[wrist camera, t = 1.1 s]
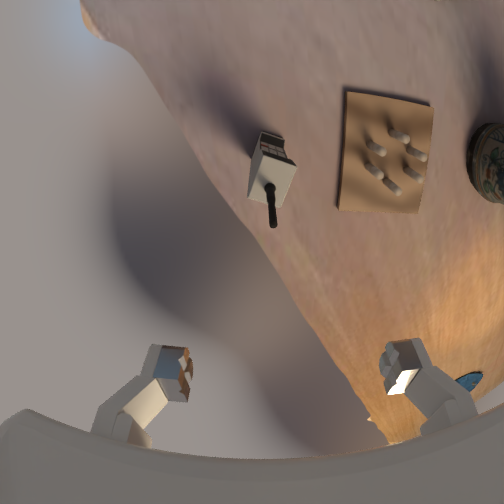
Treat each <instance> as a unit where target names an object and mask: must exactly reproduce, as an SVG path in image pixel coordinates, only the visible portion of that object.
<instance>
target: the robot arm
mask: <svg viewBox="0 0 504 504" xmlns="http://www.w3.org/2000/svg"><path fill="white" fill-rule="evenodd" d="M385 349H386V351H385V352H384V353H382V355H381V357H380V361H379V368H380V372H381V375H382V376H384V377H385V380H384V386H385V390H386V393H387V395H391V394H397V393H403V392H404V394H405V395H406V396H407V397H408V398H409V399H410V401H411V402H412V403H413V404H414V405H415V406H416V407H417V408H418V409H419V410H420V411H421V412H422V413H423V414H424V415H425V416H426V418H427V419H428V420H427V421H426V422H425V423H424V424H422V425H421V427H420V431H421V435H422V436H419V437H416V438H413V439H409V440H405V441H402V442H398V443H394V444H389V445H385V446H380V447H376V448H371V449H366V450H360V451H355V452H348V453H341V454H334V455H326V456H317V457H304V458H287V459H233V458H218V457H207V456H197V455H189V454H181V453H175V452H167V451H162V450H157V449H151V444H152V439H151V438H150V436H149V435H148V434H147V433H146V432H145V431H144V430H143V429H144V428H145V427H146V426H147V425H148V424H149V423H150V421H151V420H152V419H153V418H154V417H155V416H156V415H157V414H158V413H159V412H160V410H161V409H162V408H163V407H164V406H165V405H166V404H167V403H168V401H176V402H188V397H189V393H190V387H189V385H188V383H189V382H190V381H191V380H192V376H193V362H192V359H191V358H189V350H188V348H186V347H175V346H166V345H156V344H152V345H151V346H150V347H149V350H148V353H147V356H146V359H145V362H144V365H143V368H142V371H141V374H140V376H136V377H134V378H133V379H132V380H131V381H130V382H128V383H127V384H126V385H125V386H123V387H122V388H121V389H120V390H119V391H117V392H116V393H115V394H114V395H113V396H111V397H110V398H109V399H108V400H107V401H105V402H104V403H103V404H102V405H100V406H99V408H98V411H97V414H96V417H95V420H94V423H93V426H92V429H91V432H90V433H89V432H86V431H83V430H80V429H77V428H75V427H72V426H69V425H66V424H64V423H61V422H58V421H56V420H54V419H51V418H49V417H46V416H44V415H42V414H40V413H37V412H35V411H33V410H30V409H24V410H22V411H20V412H18V413H16V414H15V415H13V416H11V417H10V418H8V419H7V420H6V421H4V422H3V423H2V424H1V426H0V504H504V403H502V404H500V405H498V406H496V407H494V408H492V409H490V410H488V411H486V412H484V413H481V414H479V415H478V412H477V409H476V407H475V404H474V402H473V399H472V397H471V394H470V392H469V391H468V390H466V389H465V388H464V387H462V386H461V385H460V384H459V383H457V382H456V381H455V380H453V379H452V378H451V377H450V376H448V375H447V374H446V373H444V372H443V371H442V370H441V369H439V368H438V367H437V366H433V365H432V362H431V360H430V358H429V356H428V353H427V351H426V349H425V347H424V345H423V343H422V340H421V339H420V338H413V339H405V340H398V341H391V342H388V343H387V344H386V346H385Z"/></svg>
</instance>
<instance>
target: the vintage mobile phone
mask: <svg viewBox="0 0 504 504" xmlns="http://www.w3.org/2000/svg"><path fill="white" fill-rule="evenodd" d="M284 143H285V140H284V139H283V138H280V137H277V136H274V135H271V134H268V133H265V132H262V131H261V134H260V136H259V139H258V142H257V145H256V148H255V151H254V153H253V156H252V159H251V167H250V175H249V184H248V193H247V198H249V199H252V200H256V201H259V202H262V203H265V204H268V209H269V224H270V227H271V228H276V227H277V217H276V208H275V207H278V208H281V206H282V203H283V201H284V199H285V196H286V194H287V191H288V189H289V186H290V184H291V181H292V179H293V177H294V174H295V172H296V169H297V166H296V164H295V163H294V162H293V161H292V160H291V159H288V158H287V155H286V153H285V150H284Z"/></svg>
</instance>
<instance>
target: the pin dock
mask: <svg viewBox="0 0 504 504" xmlns="http://www.w3.org/2000/svg"><path fill="white" fill-rule="evenodd" d="M433 114H434V108H432V107H429V106H425V105H420V104H416V103H412V102H407V101H403V100H398V99H392V98H387V97H381V96H375V95H369V94H362V93H355V92H346V91H345V115H344V135H343V150H342V163H341V175H340V186H339V196H338V205H337V208H338V210H339V211H365V212H390V213H411V214H418V210H419V206H420V201H421V197H422V192H423V187H424V181H425V176H426V170H427V164H428V157H429V151H430V143H431V135H432V125H433Z"/></svg>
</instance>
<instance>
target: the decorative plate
mask: <svg viewBox="0 0 504 504" xmlns="http://www.w3.org/2000/svg"><path fill="white" fill-rule="evenodd" d="M482 377H483V374H480V373H479V374H478V373H475V374H474V373H473V374H468V375H466V376H464V377H461V378H460V379H458V380H457V381H456V382H457V383H459V384H460V385H461V386H462V387H464V388H465V389H466V390H468V391H469V392H470V391H472V389H474V388H475V386H476V385H477V384H478V383H479V381H480V380H481V379H482Z"/></svg>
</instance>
